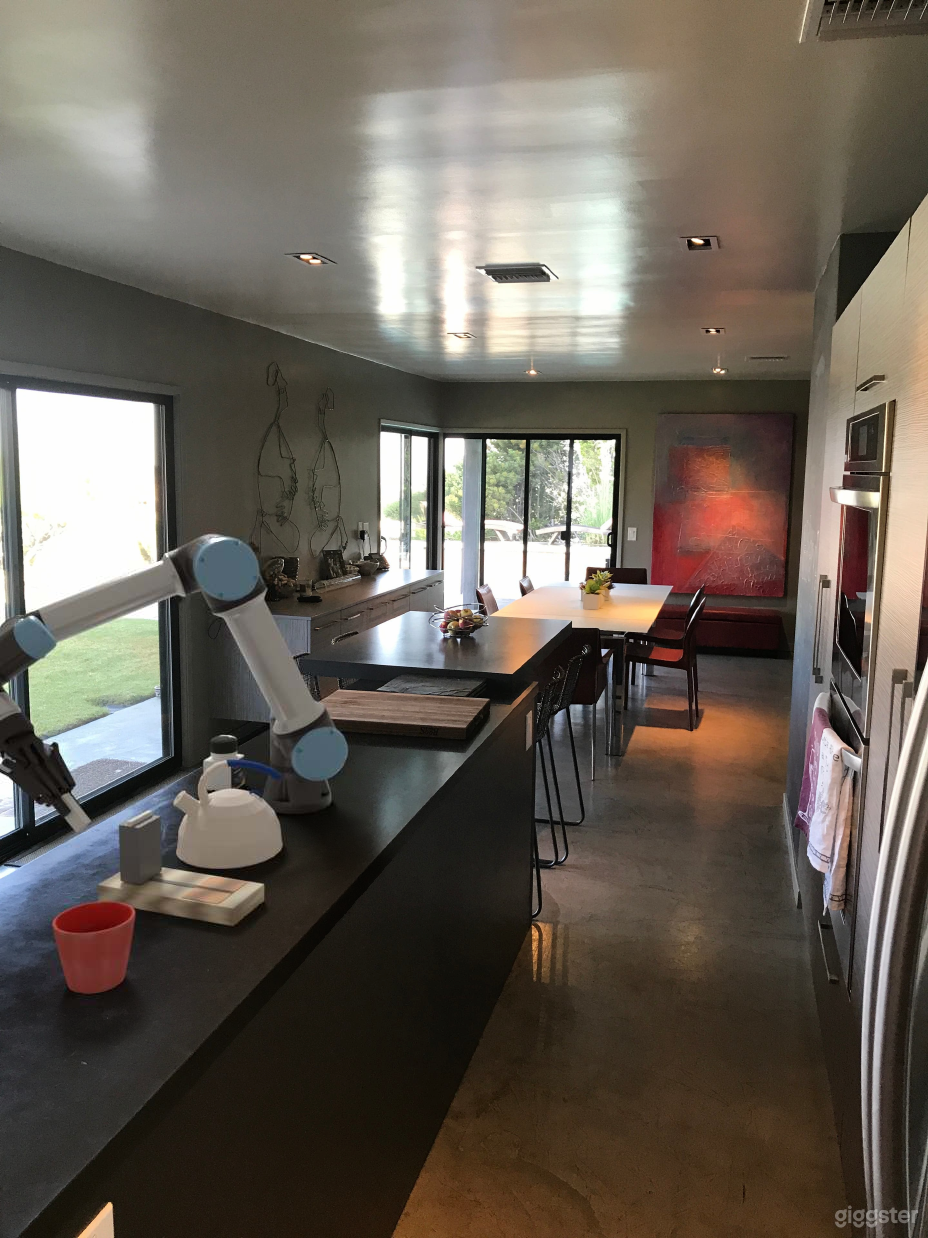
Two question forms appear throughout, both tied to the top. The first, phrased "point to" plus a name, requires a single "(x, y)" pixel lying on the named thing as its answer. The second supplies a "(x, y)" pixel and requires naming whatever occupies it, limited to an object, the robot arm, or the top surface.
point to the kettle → (227, 824)
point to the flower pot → (94, 944)
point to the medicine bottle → (227, 776)
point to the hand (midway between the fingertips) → (83, 827)
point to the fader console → (187, 895)
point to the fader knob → (140, 848)
